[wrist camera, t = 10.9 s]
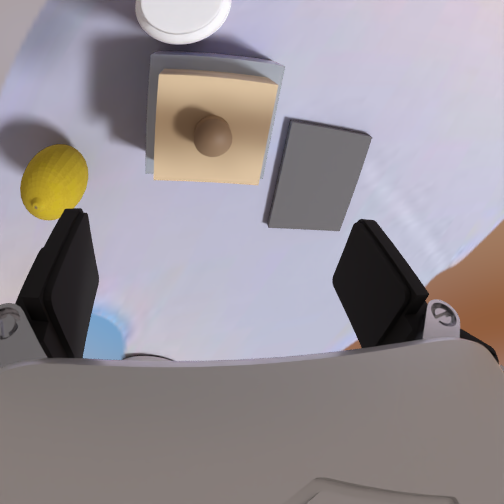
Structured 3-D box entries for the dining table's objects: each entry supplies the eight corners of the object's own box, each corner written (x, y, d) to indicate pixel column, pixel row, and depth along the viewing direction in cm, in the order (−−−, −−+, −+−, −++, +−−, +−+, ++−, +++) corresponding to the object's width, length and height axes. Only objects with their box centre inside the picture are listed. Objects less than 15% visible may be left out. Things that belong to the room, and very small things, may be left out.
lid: (251, 166, 23) (261, 195, 20) (158, 161, 22) (151, 190, 19) (268, 77, 19) (284, 89, 16) (164, 68, 18) (156, 77, 14)
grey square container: (254, 158, 27) (262, 178, 24) (151, 153, 25) (145, 173, 22) (272, 60, 22) (285, 66, 19) (158, 50, 20) (150, 54, 17)
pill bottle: (139, 0, 17) (105, -16, 9) (205, -31, 16) (210, -66, 8) (169, 53, 20) (152, 66, 13) (233, 24, 19) (255, 20, 12)
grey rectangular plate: (337, 227, 34) (339, 231, 33) (267, 224, 32) (268, 227, 32) (369, 134, 27) (372, 137, 27) (290, 120, 25) (292, 122, 25)
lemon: (43, 131, 22) (0, 171, 16) (99, 132, 23) (67, 174, 17) (46, 185, 25) (12, 236, 19) (98, 188, 26) (73, 242, 20)
